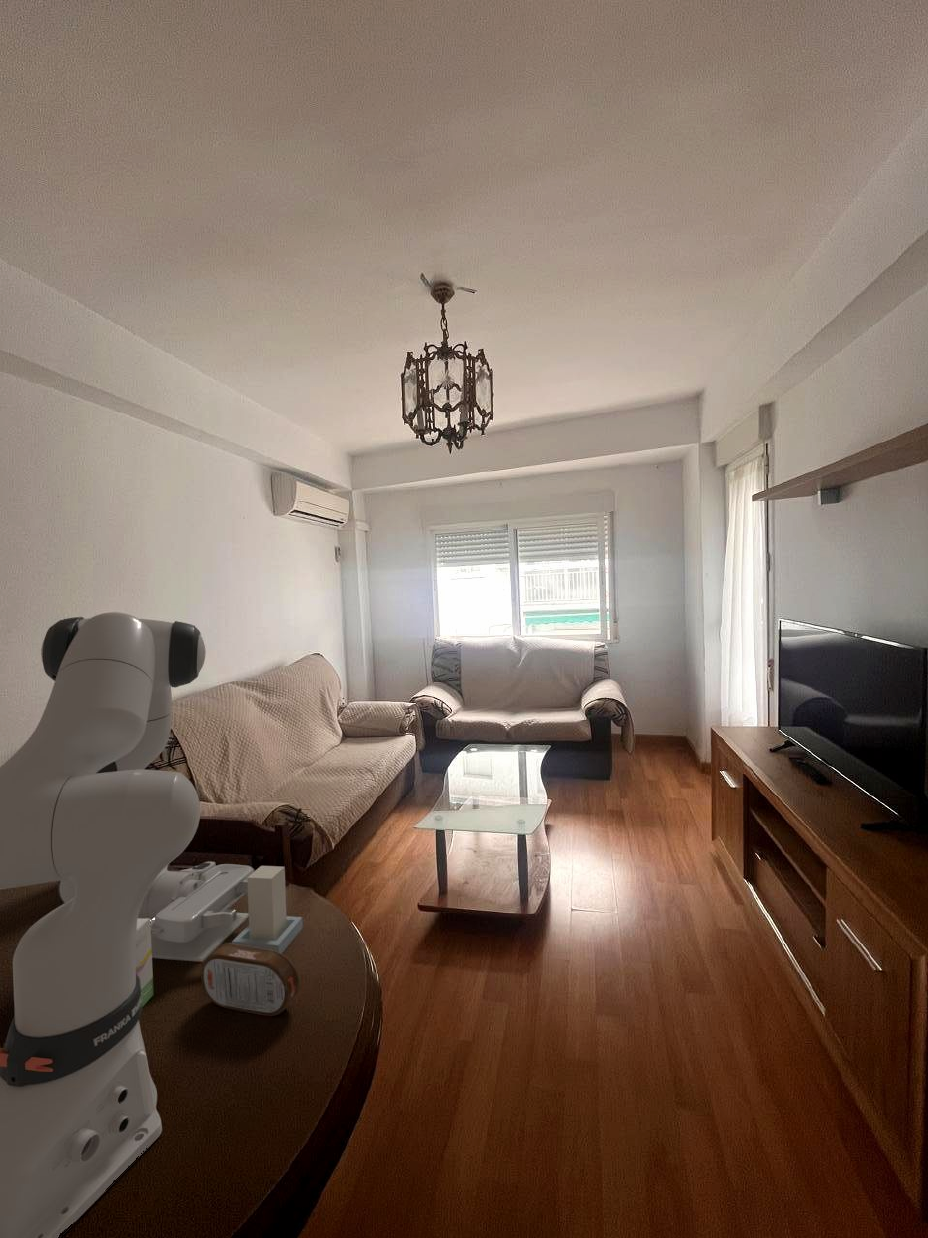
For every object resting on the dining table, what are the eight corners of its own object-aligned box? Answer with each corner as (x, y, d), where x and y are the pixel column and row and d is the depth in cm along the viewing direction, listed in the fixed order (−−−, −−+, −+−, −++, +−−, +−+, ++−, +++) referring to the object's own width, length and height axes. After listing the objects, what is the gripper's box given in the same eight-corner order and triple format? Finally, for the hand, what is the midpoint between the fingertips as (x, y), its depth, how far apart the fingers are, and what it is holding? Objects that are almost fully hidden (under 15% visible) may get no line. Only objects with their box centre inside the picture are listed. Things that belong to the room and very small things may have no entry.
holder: (279, 957, 92) (278, 945, 92) (232, 953, 93) (232, 941, 93) (302, 928, 100) (302, 917, 100) (259, 925, 102) (259, 914, 102)
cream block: (274, 949, 94) (271, 878, 94) (249, 947, 95) (247, 877, 95) (287, 934, 98) (284, 866, 98) (263, 932, 99) (261, 865, 99)
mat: (202, 962, 91) (201, 959, 91) (127, 955, 94) (127, 953, 94) (249, 916, 105) (249, 913, 105) (183, 912, 107) (183, 909, 107)
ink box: (156, 995, 83) (152, 897, 83) (133, 1019, 78) (129, 915, 78) (102, 993, 84) (99, 896, 84) (76, 1016, 79) (72, 914, 79)
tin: (301, 1009, 79) (299, 950, 79) (288, 1024, 76) (286, 963, 76) (213, 993, 83) (211, 937, 83) (198, 1007, 80) (195, 949, 80)
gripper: (134, 911, 89) (212, 916, 87) (213, 857, 109) (278, 860, 107) (136, 951, 89) (213, 956, 87) (214, 889, 109) (279, 892, 107)
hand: (249, 903), depth 97 cm, fingers open, 8 cm apart
